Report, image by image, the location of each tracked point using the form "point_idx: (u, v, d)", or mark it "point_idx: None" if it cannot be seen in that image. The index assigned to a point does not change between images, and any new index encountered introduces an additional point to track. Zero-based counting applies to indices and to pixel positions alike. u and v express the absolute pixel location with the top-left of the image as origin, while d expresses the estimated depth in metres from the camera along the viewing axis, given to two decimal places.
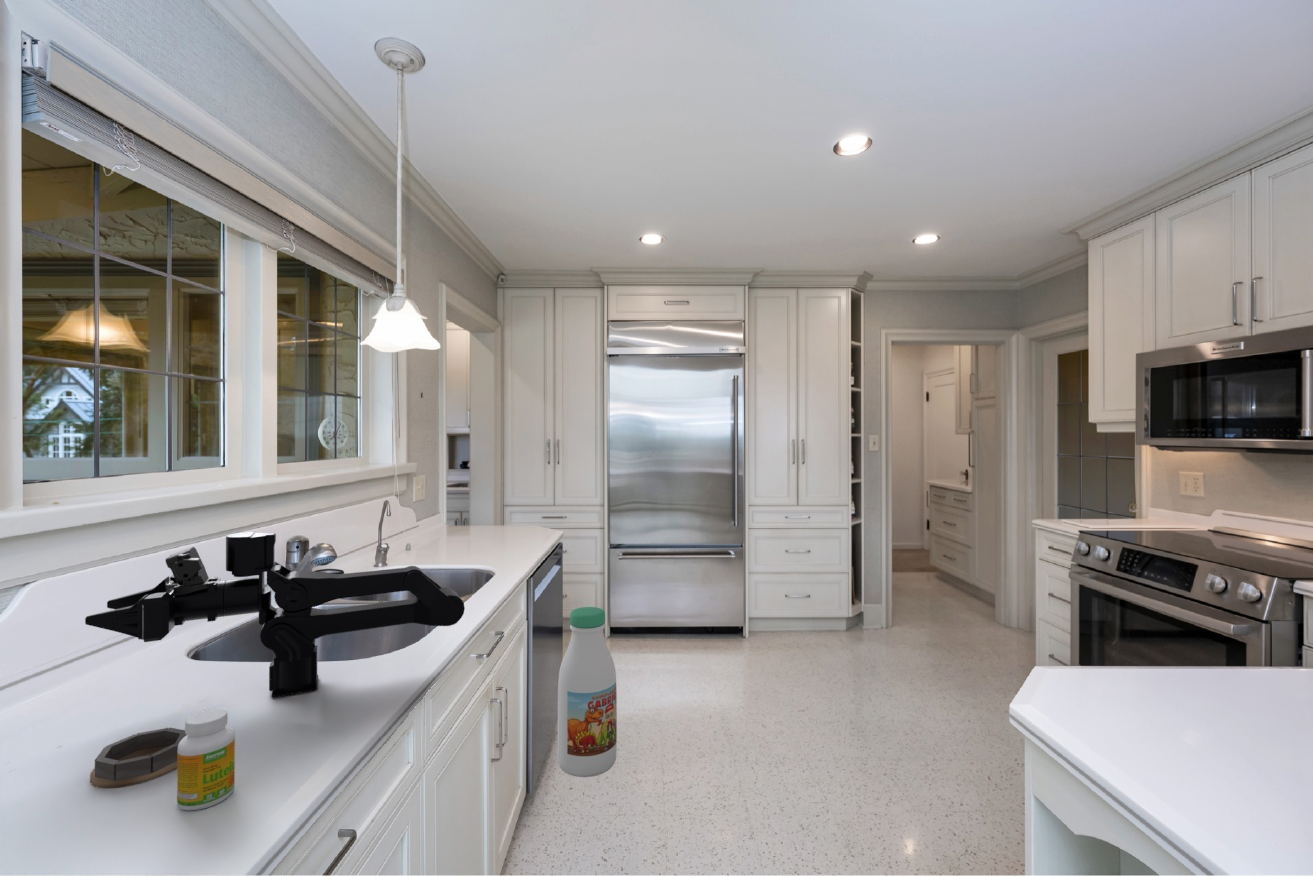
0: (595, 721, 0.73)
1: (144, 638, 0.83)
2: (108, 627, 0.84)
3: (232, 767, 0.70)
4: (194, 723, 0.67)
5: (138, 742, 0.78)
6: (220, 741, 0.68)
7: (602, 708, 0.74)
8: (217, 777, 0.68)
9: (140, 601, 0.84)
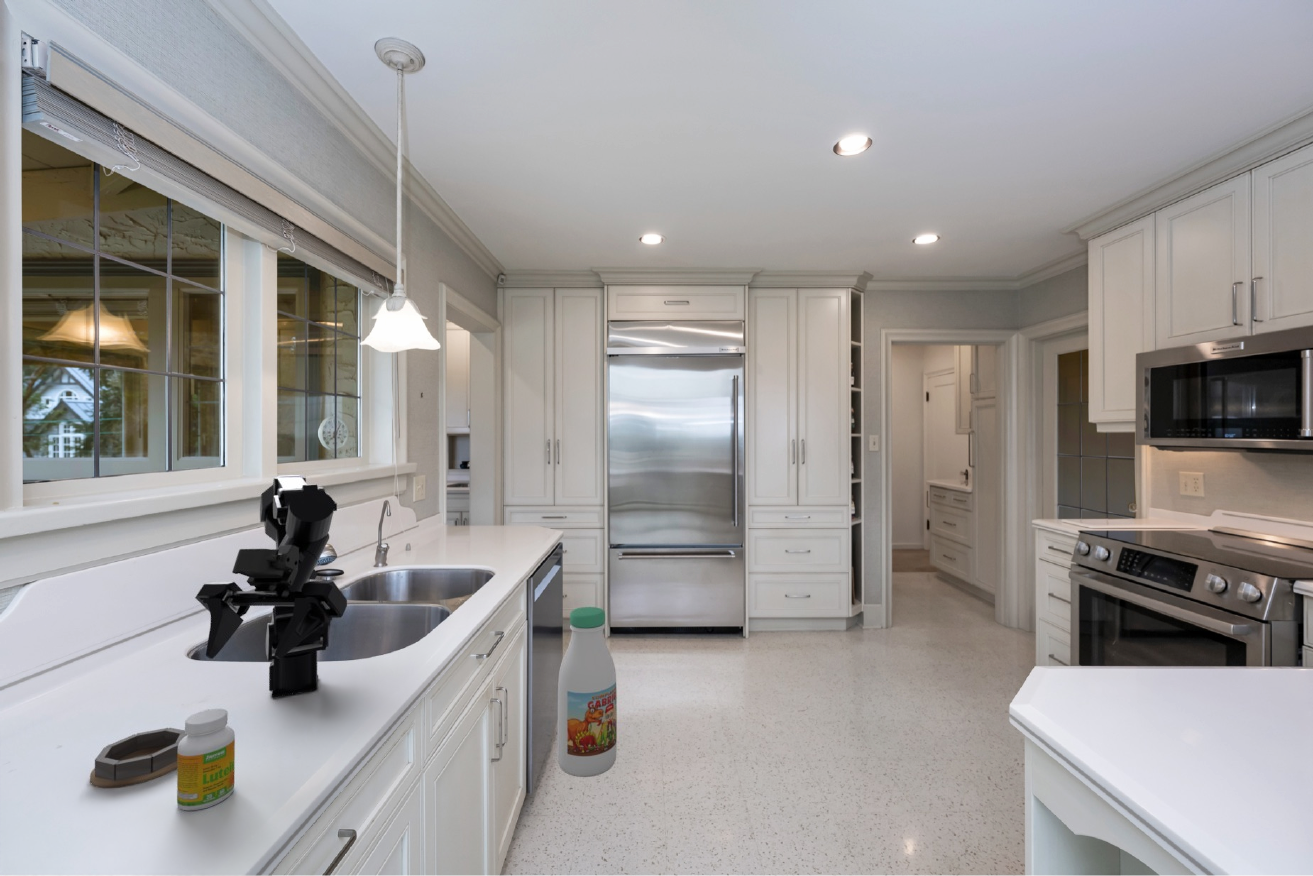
0: (595, 721, 0.73)
1: (342, 614, 0.84)
2: (297, 641, 0.79)
3: (232, 767, 0.70)
4: (194, 723, 0.67)
5: (138, 742, 0.78)
6: (220, 741, 0.68)
7: (602, 708, 0.74)
8: (217, 777, 0.68)
9: (315, 600, 0.80)
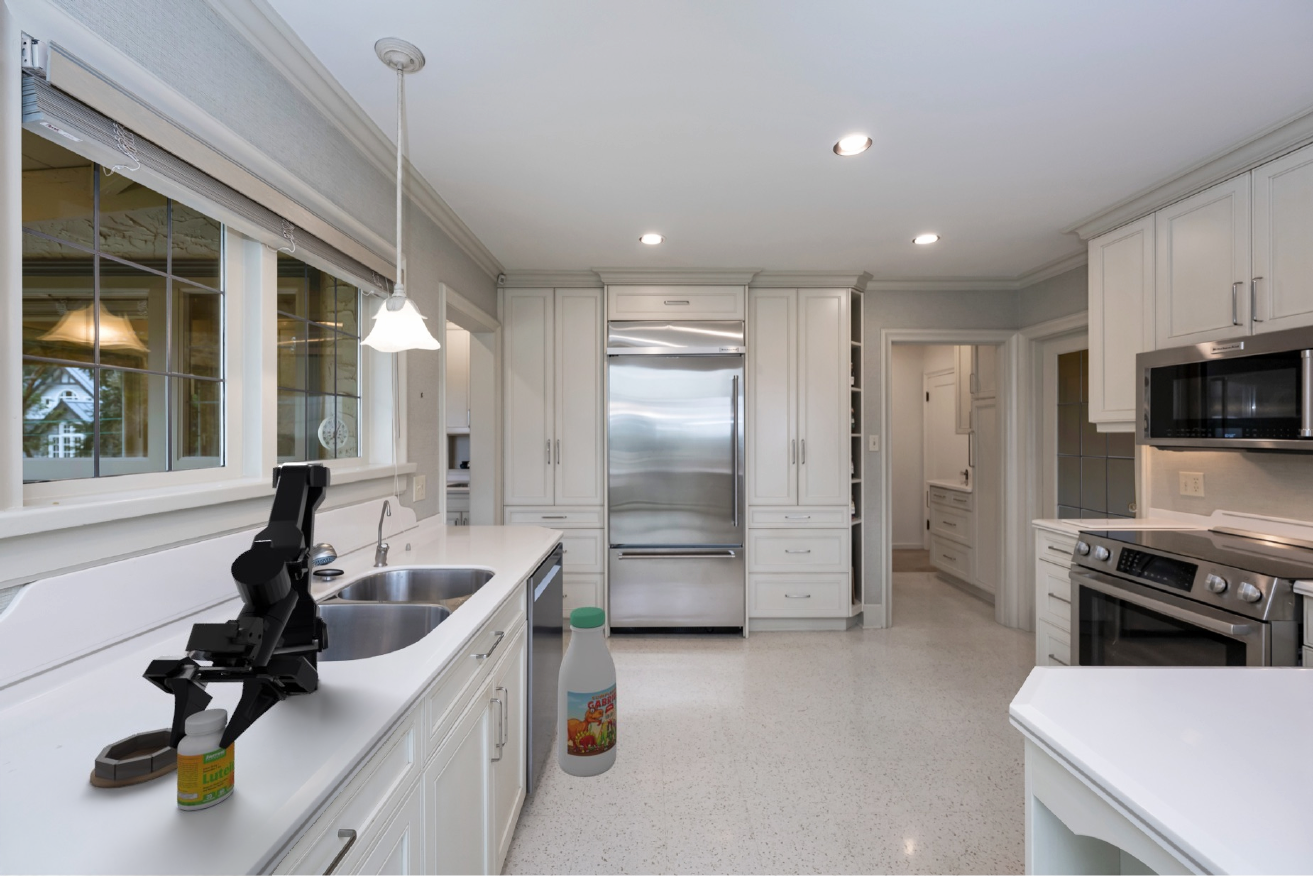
0: (595, 721, 0.73)
1: (313, 690, 0.75)
2: (246, 727, 0.71)
3: (232, 767, 0.70)
4: (194, 723, 0.67)
5: (138, 742, 0.78)
6: None
7: (602, 708, 0.74)
8: (217, 777, 0.68)
9: (267, 680, 0.71)
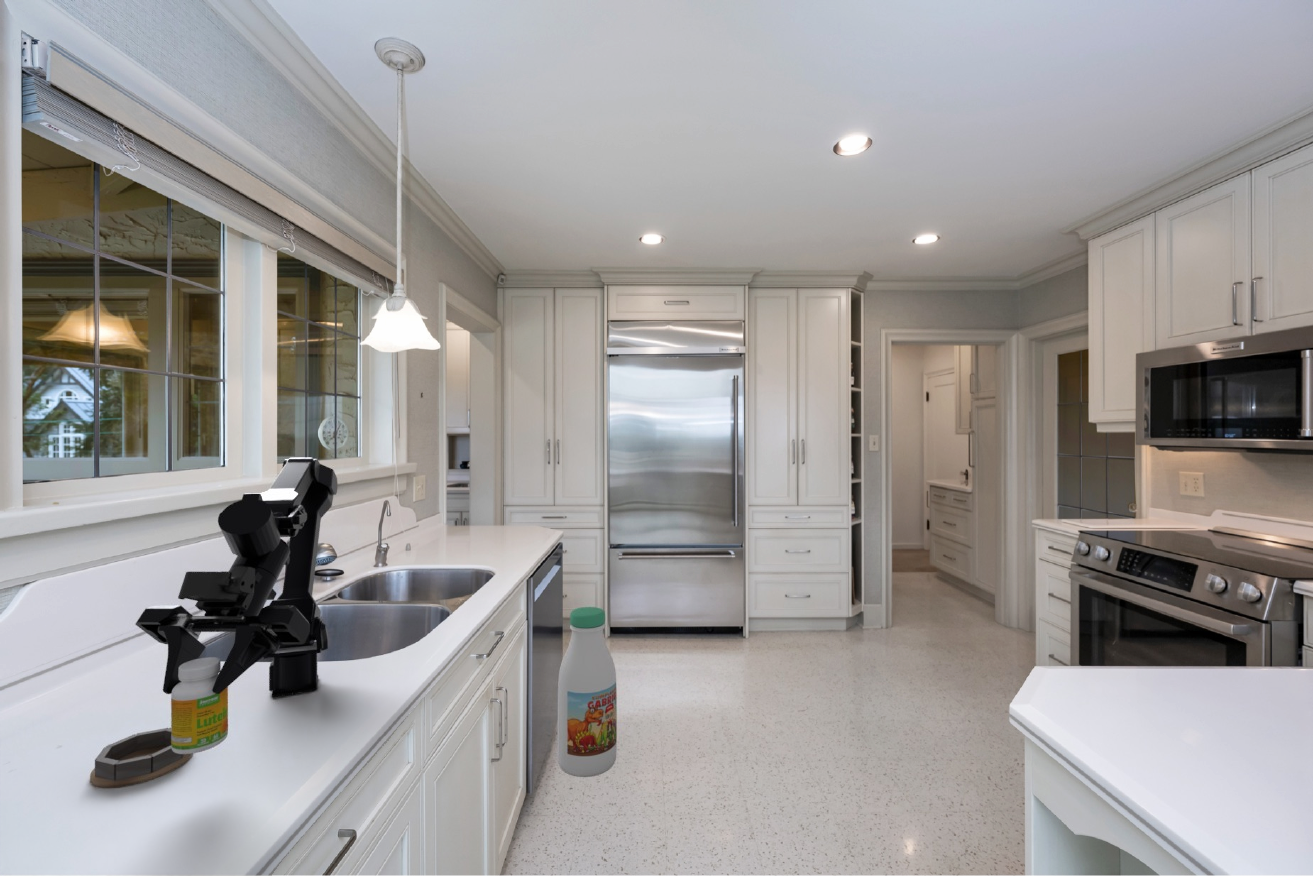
0: (595, 721, 0.73)
1: (305, 640, 0.76)
2: (239, 673, 0.72)
3: (226, 713, 0.71)
4: (187, 669, 0.68)
5: (138, 742, 0.78)
6: None
7: (602, 708, 0.74)
8: (210, 722, 0.69)
9: (259, 628, 0.72)
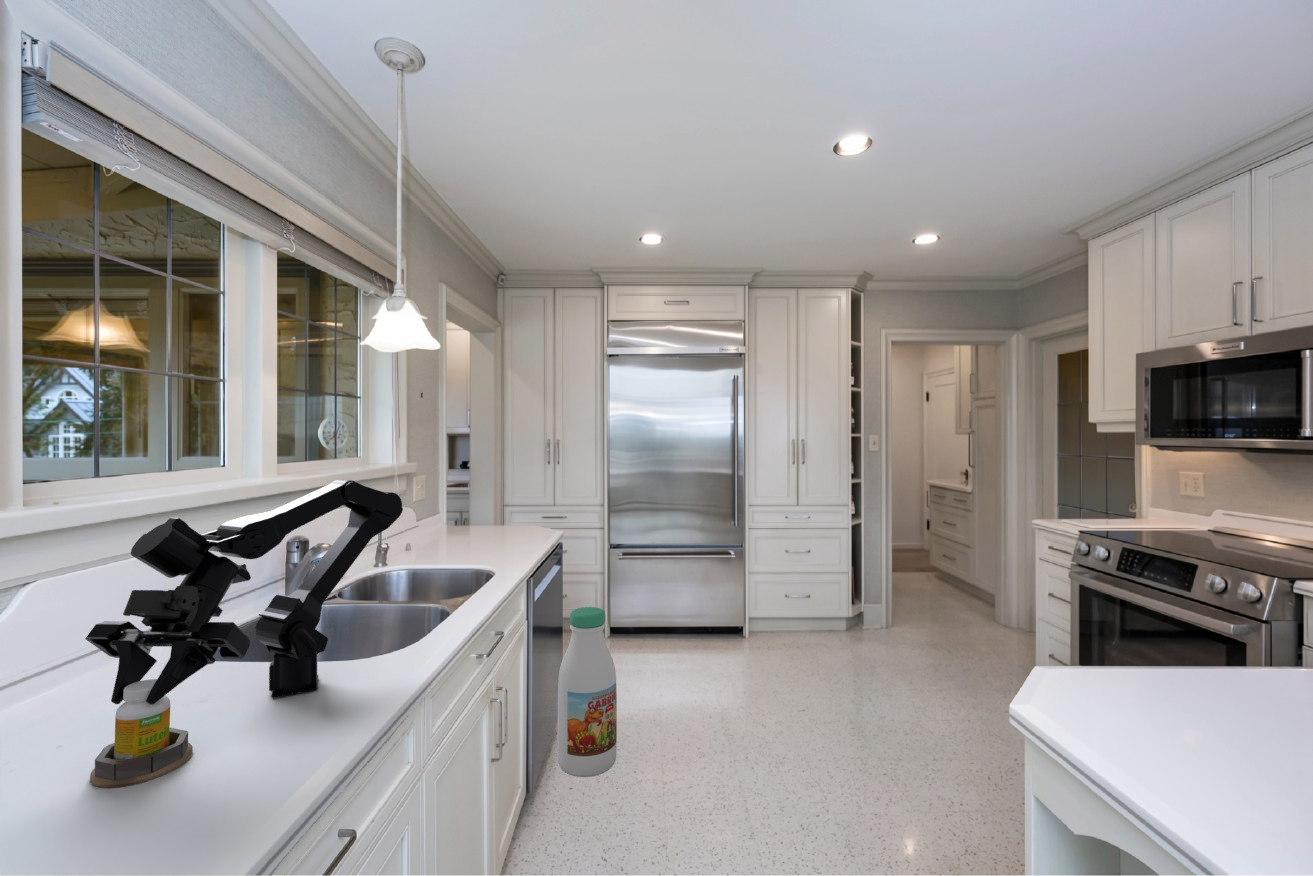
0: (595, 721, 0.73)
1: (244, 655, 0.82)
2: (174, 685, 0.77)
3: (167, 732, 0.77)
4: (131, 691, 0.74)
5: None
6: (156, 708, 0.75)
7: (602, 708, 0.74)
8: (151, 740, 0.75)
9: (193, 643, 0.78)
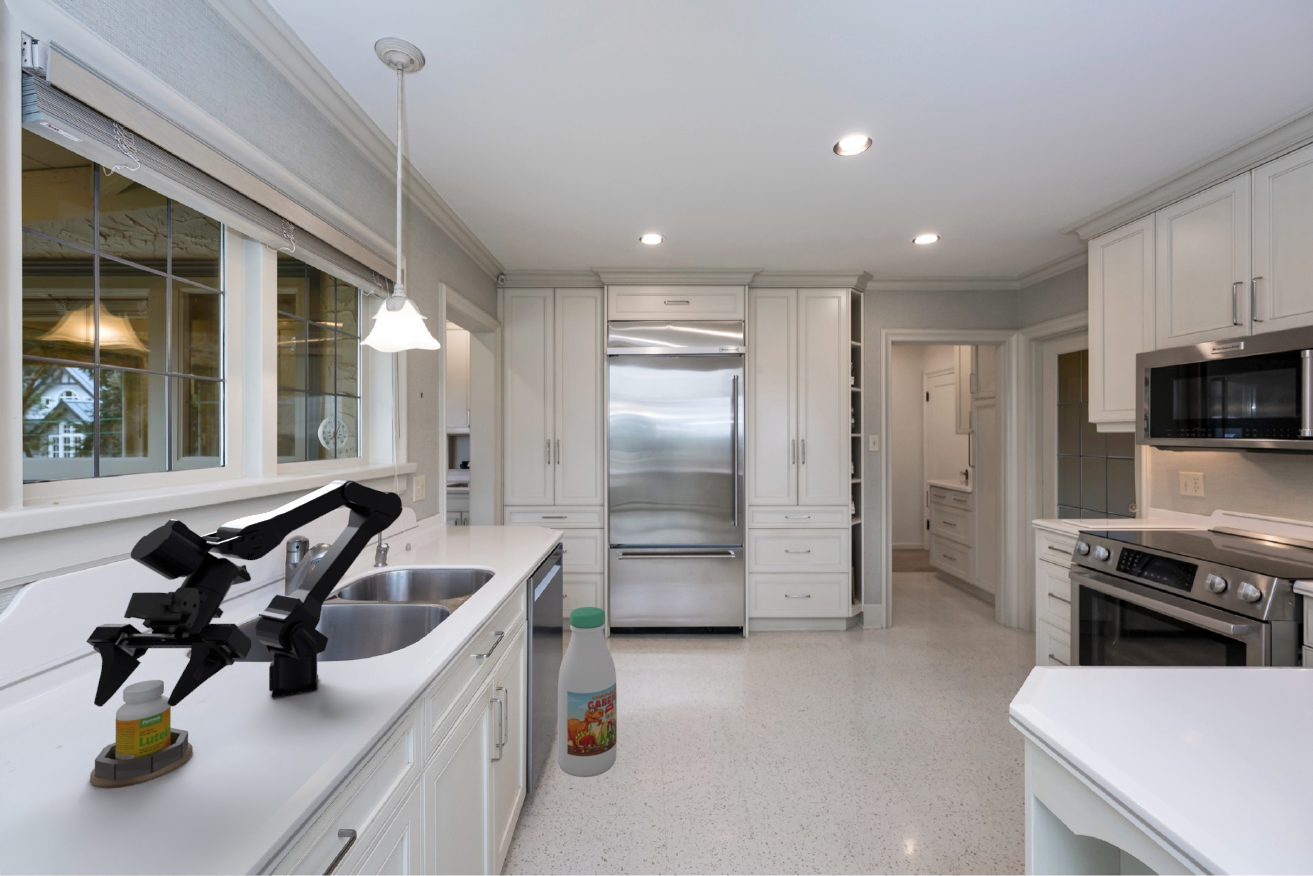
0: (595, 721, 0.73)
1: (245, 656, 0.82)
2: (194, 687, 0.77)
3: (168, 732, 0.77)
4: (131, 691, 0.74)
5: None
6: (156, 707, 0.75)
7: (602, 708, 0.74)
8: (153, 740, 0.75)
9: (213, 645, 0.78)
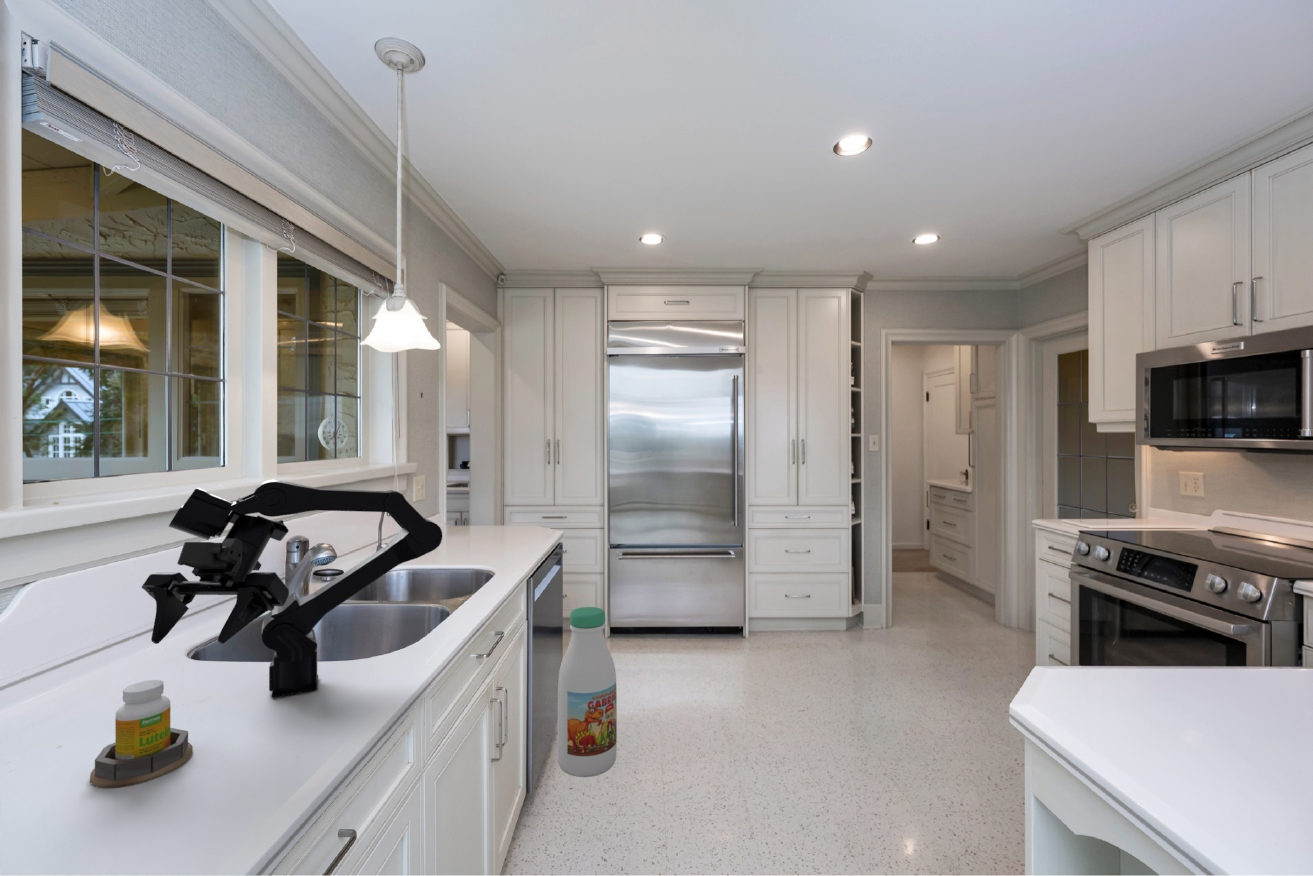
0: (595, 721, 0.73)
1: (284, 603, 0.90)
2: (240, 628, 0.86)
3: (168, 732, 0.77)
4: (131, 692, 0.74)
5: None
6: (156, 708, 0.75)
7: (602, 708, 0.74)
8: (152, 740, 0.75)
9: (257, 590, 0.86)
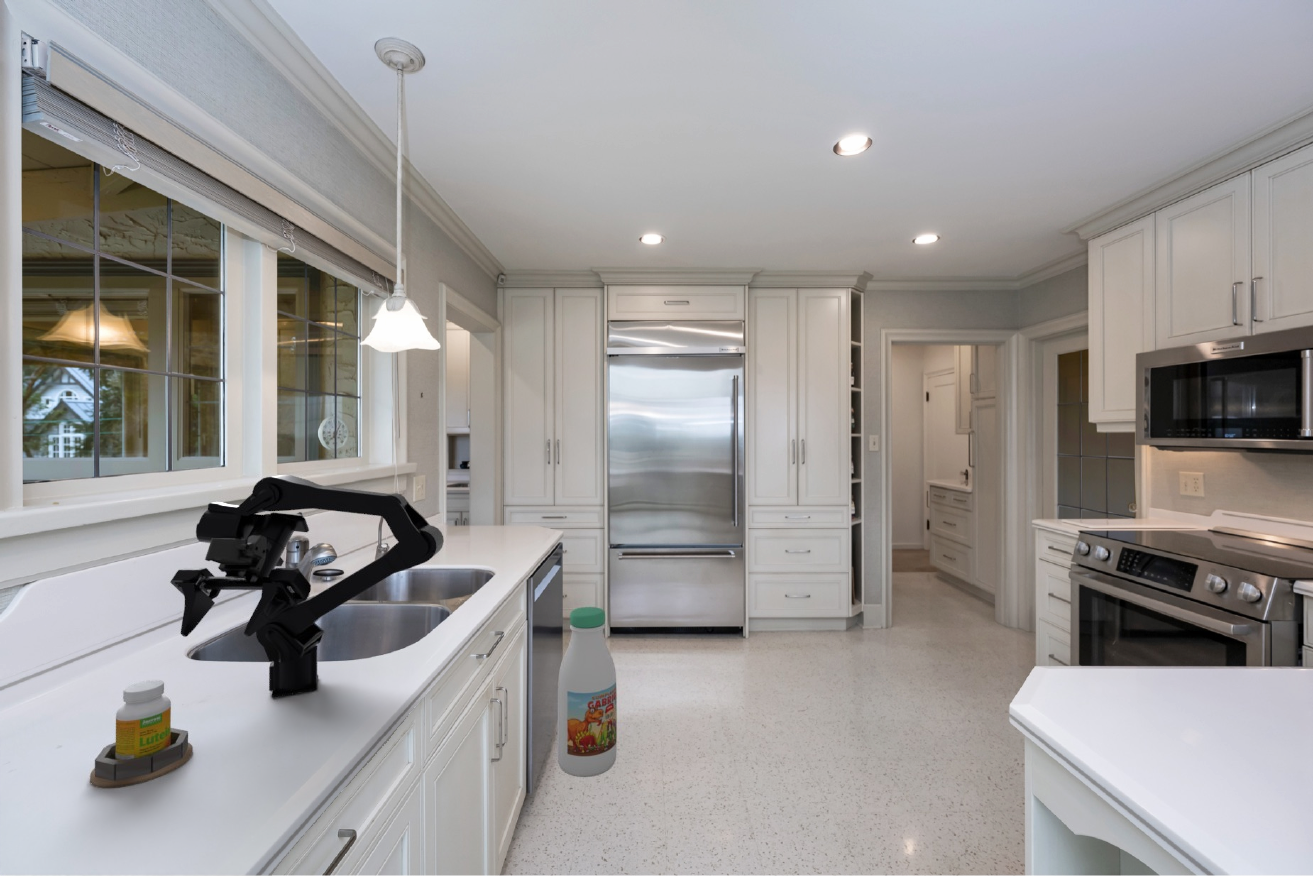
0: (595, 721, 0.73)
1: (306, 597, 0.93)
2: (265, 622, 0.89)
3: (168, 732, 0.77)
4: (131, 692, 0.74)
5: None
6: (156, 708, 0.75)
7: (602, 708, 0.74)
8: (153, 741, 0.75)
9: (281, 585, 0.89)
